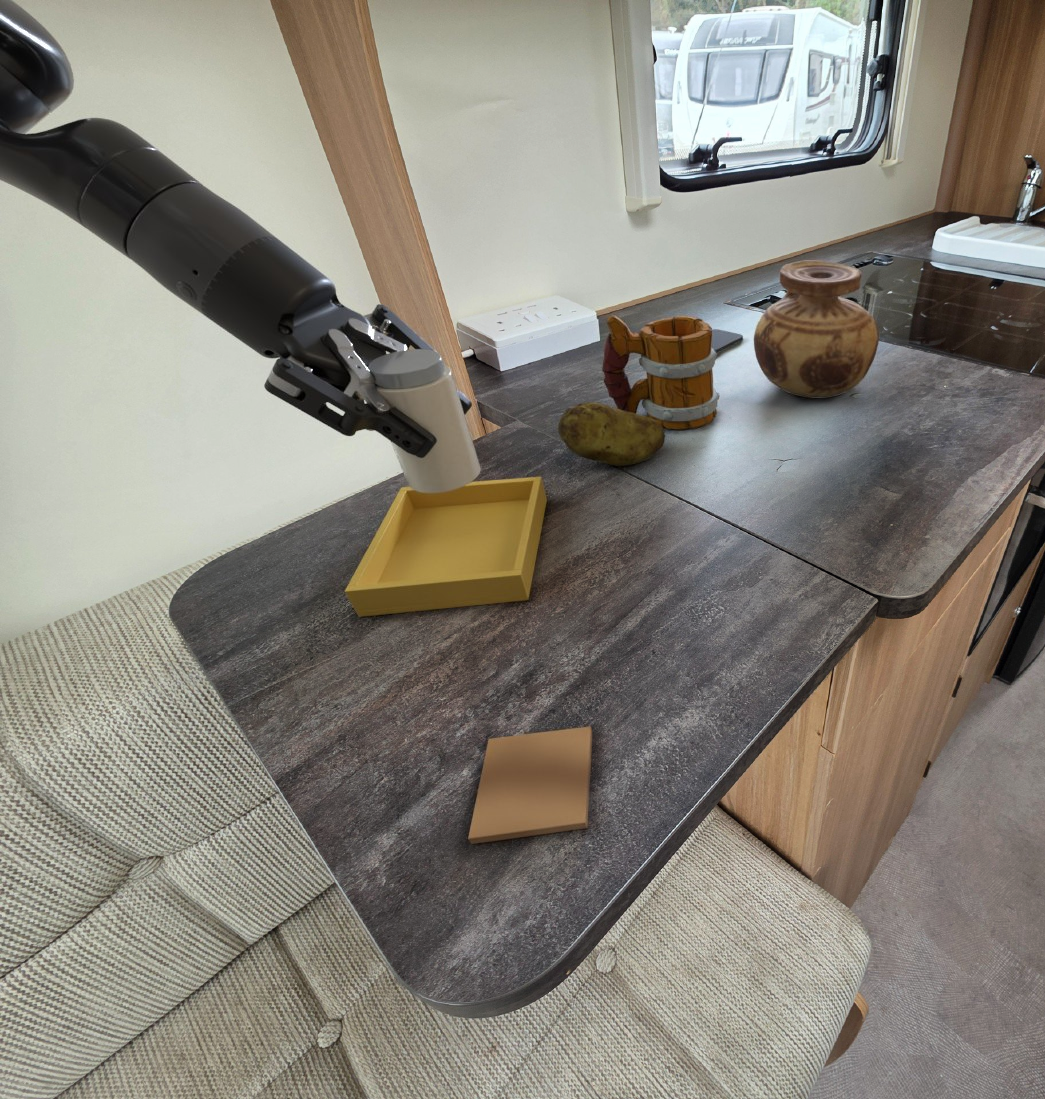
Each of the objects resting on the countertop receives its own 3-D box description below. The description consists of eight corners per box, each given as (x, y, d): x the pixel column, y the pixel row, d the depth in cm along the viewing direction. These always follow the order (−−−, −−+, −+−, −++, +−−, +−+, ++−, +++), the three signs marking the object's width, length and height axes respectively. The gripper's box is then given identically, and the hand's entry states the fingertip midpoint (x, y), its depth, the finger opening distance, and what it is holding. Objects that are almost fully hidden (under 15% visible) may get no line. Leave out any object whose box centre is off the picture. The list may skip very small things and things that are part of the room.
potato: (664, 475, 75) (658, 417, 70) (562, 478, 75) (549, 420, 70) (667, 443, 82) (662, 388, 77) (573, 446, 82) (562, 390, 77)
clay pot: (910, 380, 90) (886, 252, 77) (804, 441, 91) (760, 324, 77) (850, 338, 104) (820, 223, 91) (758, 390, 105) (714, 284, 91)
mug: (726, 426, 86) (725, 320, 76) (611, 439, 83) (595, 330, 74) (713, 395, 94) (710, 296, 84) (608, 406, 91) (592, 304, 82)
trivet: (587, 828, 40) (585, 822, 40) (471, 844, 39) (467, 838, 39) (592, 732, 46) (590, 726, 46) (491, 744, 45) (488, 738, 45)
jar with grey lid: (470, 491, 50) (432, 374, 44) (397, 495, 50) (348, 377, 43) (488, 456, 55) (455, 346, 48) (420, 459, 54) (379, 348, 48)
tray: (528, 600, 58) (520, 574, 56) (358, 617, 56) (344, 591, 54) (547, 499, 71) (541, 476, 69) (411, 511, 70) (400, 487, 68)
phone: (745, 335, 113) (697, 359, 103) (745, 339, 113) (698, 364, 104) (714, 328, 116) (664, 350, 106) (714, 332, 117) (665, 355, 107)
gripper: (171, 258, 35) (430, 444, 42) (320, 215, 46) (504, 367, 53) (142, 346, 39) (384, 504, 45) (286, 286, 50) (464, 420, 57)
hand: (448, 429), depth 49 cm, fingers closed on jar with grey lid, 6 cm apart
